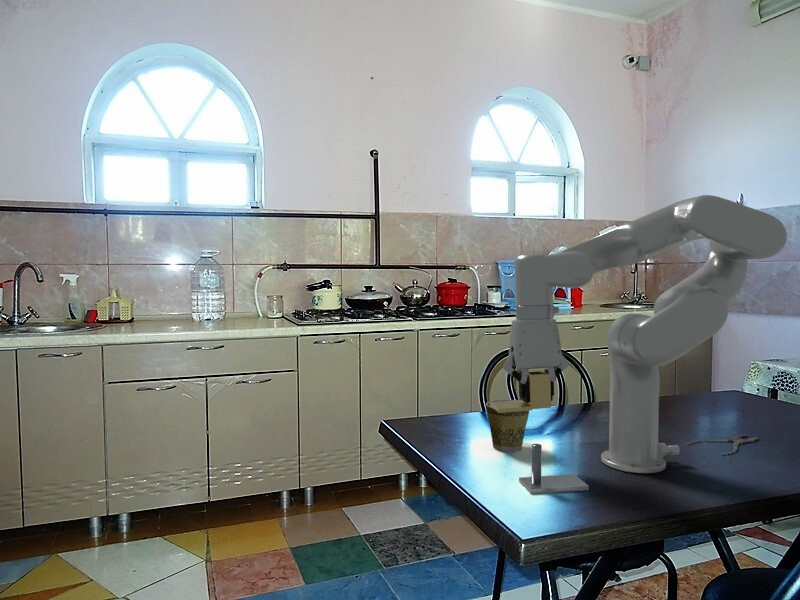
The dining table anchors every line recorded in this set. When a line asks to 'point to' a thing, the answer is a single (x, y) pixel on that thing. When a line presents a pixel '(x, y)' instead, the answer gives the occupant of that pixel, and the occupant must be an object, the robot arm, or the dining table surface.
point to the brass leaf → (530, 395)
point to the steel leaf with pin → (549, 478)
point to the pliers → (732, 439)
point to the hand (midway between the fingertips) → (536, 399)
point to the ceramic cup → (507, 428)
